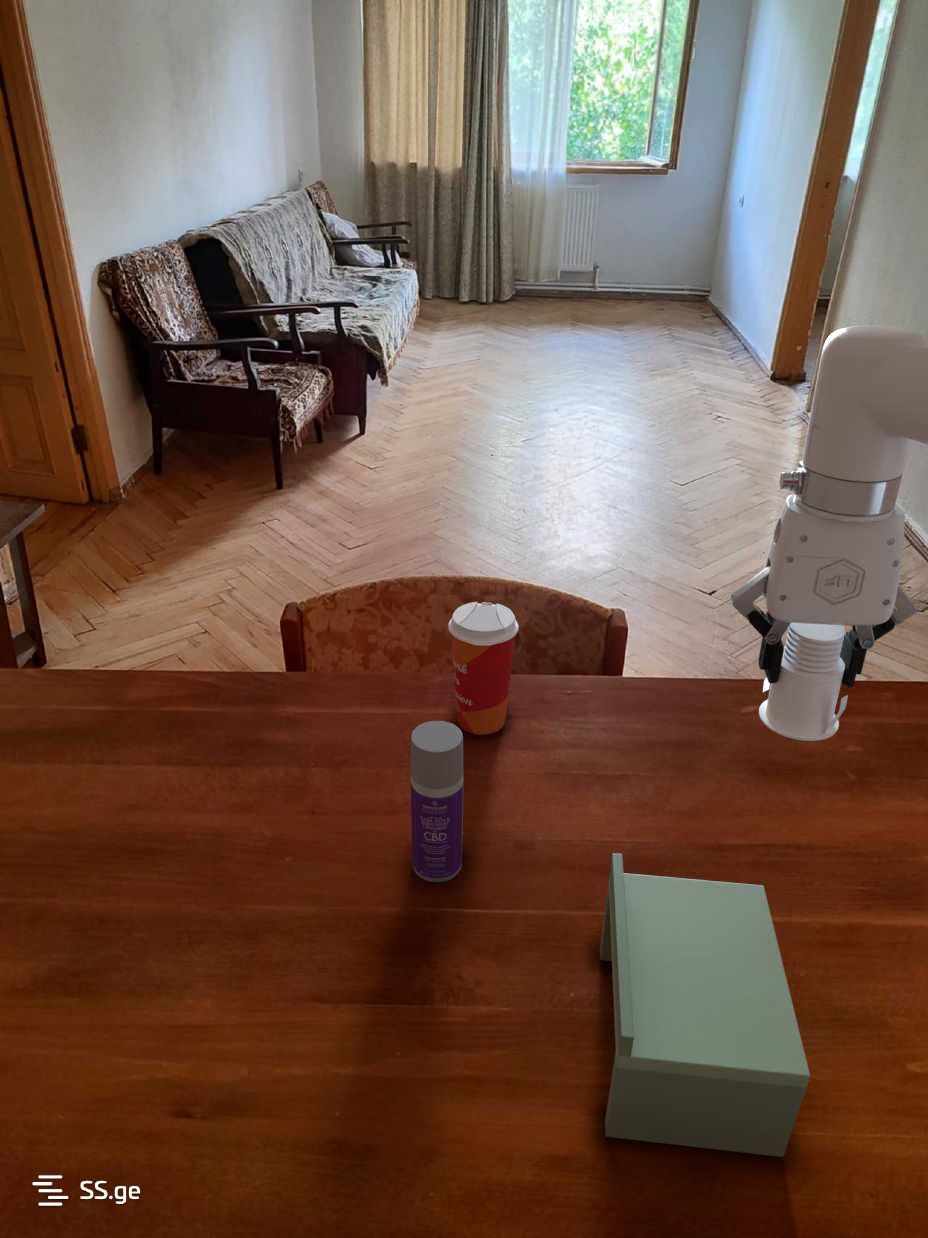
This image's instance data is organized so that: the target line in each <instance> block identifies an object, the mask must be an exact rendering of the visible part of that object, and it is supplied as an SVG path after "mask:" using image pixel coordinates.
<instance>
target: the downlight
mask: <svg viewBox="0 0 928 1238" xmlns="http://www.w3.org/2000/svg"><path fill="white" fill-rule="evenodd" d="M845 635H846V629H845V627H844V625H827V624H805V623H791V624H790V625H789V627H788V628H787V635H786V641H785V644H784V652H783V657H782V662H781V668H780V673H779V678H778V682H776V683H769V682H768V679H767V677H766V676H765V678H764V679H763V685H762V691H761V692H762V693H764V692H766V691H768V690H769V691H768V696H767V699H766V700H764V701H763V702H762V703H761V704H760V706H759V708H758V716H759V719H760V720H761V722H762V723H763V724H764V726H766V727H767V728H768V729H769V730H770V731H773V732H774V733H776V734H778V735H780V736H783V737H785V738H789V739H792V740H796V741H797V740H798V741H803V742H804V741H805V742H815V741H817V742H818V741H823V740H826V739H828V738H831V737H833V736H835V734H836V733H837V732H838V730H839V726H840V722H839V718H840V717H841V715H843V713H844V711H845V710H846V709H847V703H848V698H849V694H846V695H845V696H843V697H841V698H840V703H839V704H840V705H839V710H838V712H837V713H836V714H835V712H836V707H837V703H838V699H839V695H840V692H841V691H840V690H841V686H842V678H843V673H844V669H845V664H844V662H843V660H842V659H841V658H840V653H841V648H842V644H843V640H844V636H845Z"/></svg>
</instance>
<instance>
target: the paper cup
mask: <svg viewBox="0 0 928 1238" xmlns="http://www.w3.org/2000/svg"><path fill="white" fill-rule="evenodd" d="M447 628H448V631H449V633H450V634H451V649H452V651H451V652H452V665H453V666H452V667H453V682H454V697H455V699H454V700H455V712H456V719H457V724H458V726H459V727H460V728H461V729H462V730H463V731H465V732H467V733H469V734H473V735H477V736H478V735H479V736H483V735H491V734H494V733H496V732H498V731H500V730H501V729H502V728H503V727H504V725H505V723H506V716H507V711H508V710H507V709H508V700H509V692H510V683H511V674H512V664H513V654H514V646H515V640H516V639H515V638H516V635H517V634H518V632H519V623H518V621H517V620H516V616H515V614H514V612H513V611H512V610H511V609H510V608H509V607H507V606H505V605H503V604H501V603H495V604H493V603H492V602H485V601H484V602H481V603H478V601H473V602H468V603H465V604H462V605H460V606H459V607H457V608H456V609H455V610H454V612H453V613H452V615H451V618H450V620H449V622H448V624H447Z"/></svg>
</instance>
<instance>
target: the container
mask: <svg viewBox="0 0 928 1238" xmlns="http://www.w3.org/2000/svg"><path fill="white" fill-rule="evenodd" d="M410 736H411V737H410V816H411V817H410V818H411V821H410V823H411V855H412V856H411V858H412V868H413V871H414V873H415V874H416V875H417V876H418V877H419V878H420V879H422V880H424V881H427V882H431V883H443V882H447V881H450V880H451V879H453V878H455V877H456V876H457V875H458V874H459V873H460V871H461V869H462V867H463V833H464V832H463V830H464V829H463V828H464V736H463V732H462V730H461V729H460V728H459V727H458V726H457V725H455V724H454V723H451V722H449V721H444V720H431V721H426V722H423V723H421V724H419V725H417V726H416V727H415V728H414V729H413V730H412V732H411V735H410Z"/></svg>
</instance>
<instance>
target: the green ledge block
mask: <svg viewBox="0 0 928 1238" xmlns="http://www.w3.org/2000/svg"><path fill="white" fill-rule="evenodd" d="M623 859H624V857H623V854H622V853H612V854H611V860H610V868H609V876H608V882H607V883H608V884H607V891H606V899H605V906H604V914H603V920H602V921H603V923H602V930H601V937H600V944H599V945H600V946H599V959H600V961H606V962H611V971H612V993H613V995H612V997H613V1016H614V1040H615V1041H614V1042H615V1054H614V1060H613V1067H612V1072H611V1073H612V1074H611V1079H610V1080H611V1081H610V1087H609V1093H608V1100H607V1105H606V1111H605V1117H604V1118H605V1119H604V1126H605V1127H604V1128H605V1129H604V1130H605V1133H604V1134H605V1137H606V1138H613V1139H622V1140H630V1141H632V1140H633V1141H641V1142H648V1143H649V1142H650V1143H657V1144H659V1143H660V1144H666V1145H674V1146H675V1145H676V1146H682V1147H691V1148H692V1147H693V1148H701V1149H708V1150H709V1149H710V1150H717V1151H726V1152H736V1153H745V1154H753V1155H761V1156H771V1157H778V1158H779V1157H780V1158H783V1157H784V1156H785V1153H786V1150H787V1147H788V1144H789V1141H790V1139H791V1135H792V1132H793V1129H794V1126H795V1124H796V1121H797V1118H798V1114H799V1113H800V1109H801V1106H802V1102H803V1100H804V1097H805V1094H806V1091H807V1087H808V1084H809V1082H810V1079H811V1074H810V1070H809V1065H808V1060H807V1058H806V1053H805V1048H804V1044H803V1041H802V1036H801V1033H800V1029H799V1024H798V1021H797V1016H796V1012H795V1008H794V1003H793V1000H792V996H791V991H790V988H789V983H788V980H787V975H786V972H785V967H784V963H783V959H782V955H781V951H780V946H779V943H778V938H777V935H776V931H775V927H774V922H773V918H772V913H771V910H770V906H769V902H768V898H767V894H766V890H765V886H764V885H760V884H751V883H750V884H748V883H739V882H738V883H737V882H727V881H714V880H705V879H693V878H682V877H681V878H680V877H671V876H659V875H649V874H636V873H625V871H624V860H623Z"/></svg>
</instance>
